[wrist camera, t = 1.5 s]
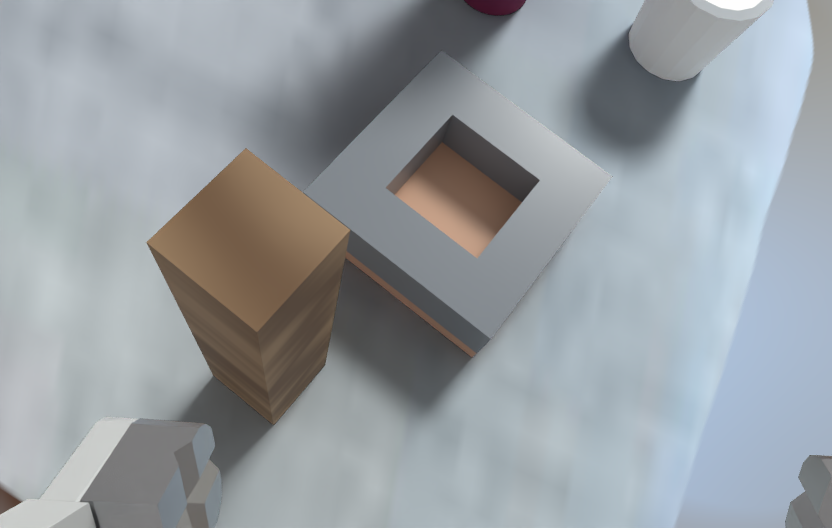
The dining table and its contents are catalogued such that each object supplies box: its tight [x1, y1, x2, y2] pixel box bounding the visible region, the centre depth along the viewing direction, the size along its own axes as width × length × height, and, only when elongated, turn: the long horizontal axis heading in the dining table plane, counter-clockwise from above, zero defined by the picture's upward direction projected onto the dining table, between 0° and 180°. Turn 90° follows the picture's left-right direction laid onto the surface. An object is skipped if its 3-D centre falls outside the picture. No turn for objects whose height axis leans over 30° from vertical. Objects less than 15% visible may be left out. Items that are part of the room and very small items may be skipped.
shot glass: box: [629, 0, 774, 81], centre depth 46 cm, size 7×7×7 cm
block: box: [147, 149, 350, 425], centre depth 29 cm, size 4×4×18 cm
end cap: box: [303, 50, 613, 357], centre depth 40 cm, size 12×12×4 cm
